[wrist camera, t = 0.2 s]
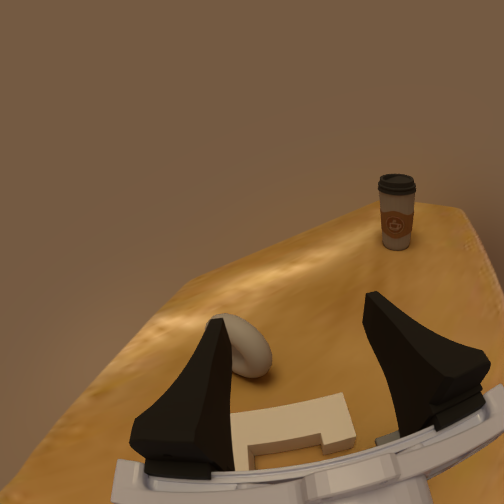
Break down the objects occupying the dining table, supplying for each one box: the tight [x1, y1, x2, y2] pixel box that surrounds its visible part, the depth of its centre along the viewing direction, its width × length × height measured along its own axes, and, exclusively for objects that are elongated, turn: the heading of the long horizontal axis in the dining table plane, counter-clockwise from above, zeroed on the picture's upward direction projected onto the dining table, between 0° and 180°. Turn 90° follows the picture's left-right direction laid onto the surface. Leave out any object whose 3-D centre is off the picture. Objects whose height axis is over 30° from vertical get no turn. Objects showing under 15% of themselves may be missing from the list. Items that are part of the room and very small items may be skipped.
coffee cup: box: [378, 174, 416, 250], centre depth 53 cm, size 8×8×15 cm
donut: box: [205, 313, 272, 378], centre depth 34 cm, size 10×4×10 cm, turn 53°
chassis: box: [230, 392, 356, 471], centre depth 21 cm, size 14×14×4 cm
